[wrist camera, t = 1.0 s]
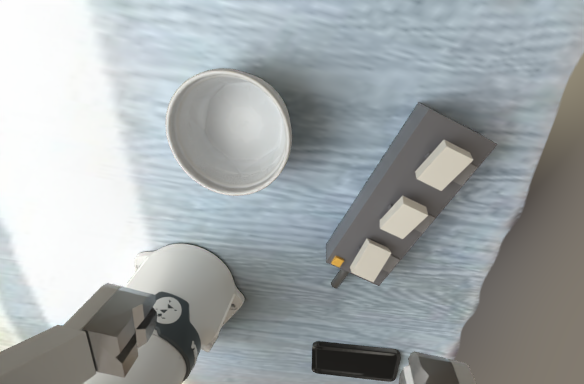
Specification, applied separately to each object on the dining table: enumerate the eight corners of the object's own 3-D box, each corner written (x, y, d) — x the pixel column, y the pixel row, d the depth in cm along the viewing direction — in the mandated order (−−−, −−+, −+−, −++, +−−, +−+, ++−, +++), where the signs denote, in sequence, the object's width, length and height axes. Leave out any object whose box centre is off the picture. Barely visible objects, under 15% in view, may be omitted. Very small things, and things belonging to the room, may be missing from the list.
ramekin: (277, 187, 40) (266, 213, 33) (183, 151, 39) (155, 170, 33) (314, 91, 34) (310, 101, 27) (205, 46, 33) (175, 46, 27)
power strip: (357, 288, 45) (360, 312, 41) (310, 267, 45) (308, 289, 41) (479, 133, 33) (500, 145, 29) (418, 102, 33) (430, 110, 29)
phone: (312, 344, 51) (401, 354, 50) (312, 338, 52) (400, 347, 51) (311, 373, 55) (394, 382, 53) (311, 367, 56) (393, 376, 54)
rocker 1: (370, 276, 37) (373, 282, 36) (349, 267, 37) (351, 272, 36) (388, 247, 36) (391, 253, 35) (366, 237, 36) (369, 242, 35)
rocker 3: (439, 183, 32) (441, 191, 31) (415, 171, 32) (416, 178, 31) (469, 152, 29) (473, 159, 28) (443, 139, 29) (446, 146, 28)
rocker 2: (401, 230, 35) (402, 239, 34) (379, 220, 35) (379, 228, 34) (426, 207, 32) (428, 215, 31) (402, 195, 32) (403, 203, 31)
